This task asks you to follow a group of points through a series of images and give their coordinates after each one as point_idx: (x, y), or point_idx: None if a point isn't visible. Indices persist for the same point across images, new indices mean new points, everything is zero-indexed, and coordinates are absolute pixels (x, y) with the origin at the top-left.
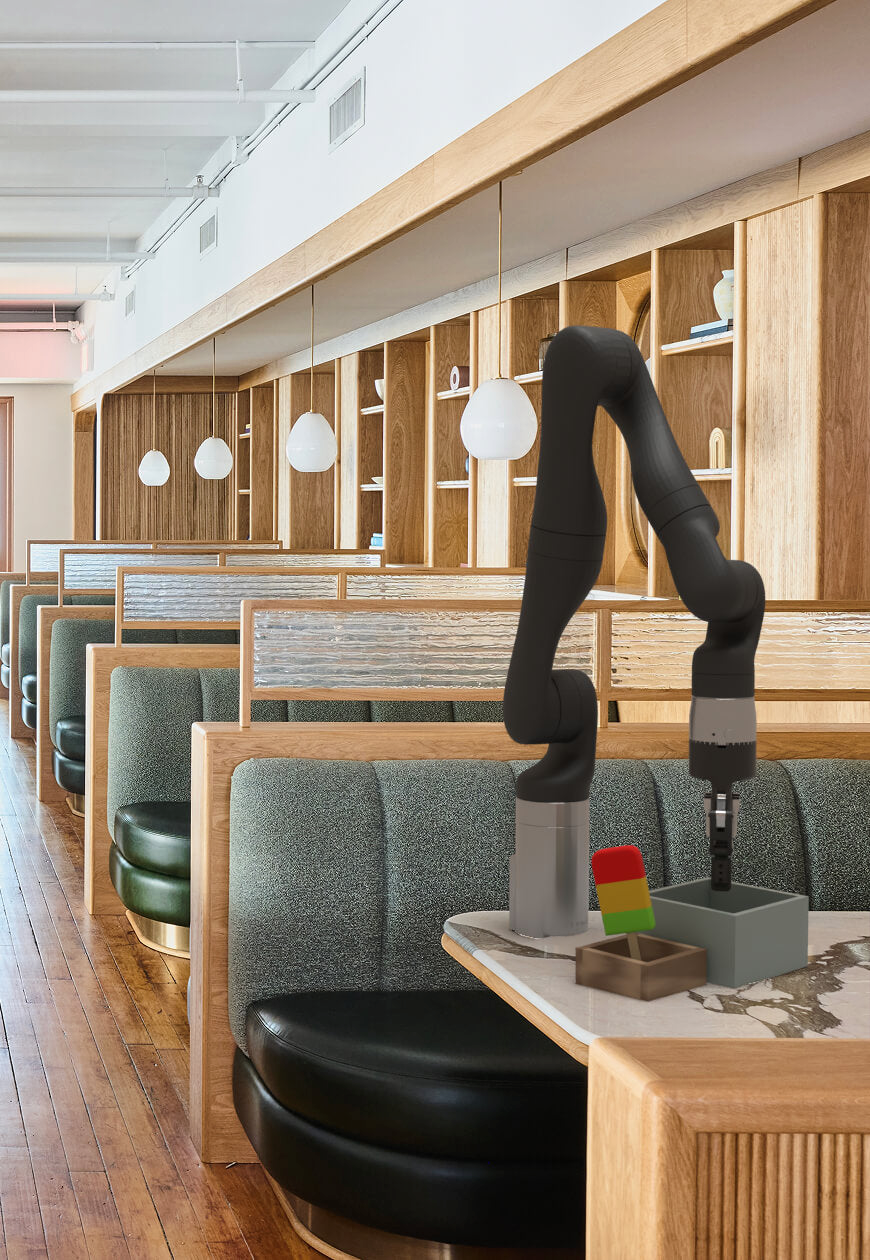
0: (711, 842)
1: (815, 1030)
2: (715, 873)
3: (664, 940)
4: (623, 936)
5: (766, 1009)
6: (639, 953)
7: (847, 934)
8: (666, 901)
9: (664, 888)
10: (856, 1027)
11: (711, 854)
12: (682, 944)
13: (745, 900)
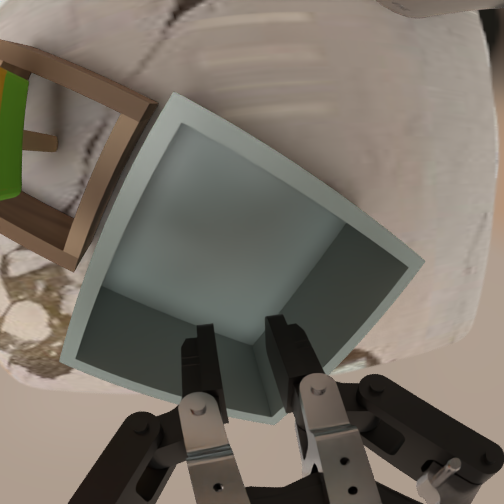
0: (102, 457)
1: (12, 359)
2: (182, 368)
3: (100, 184)
4: (103, 89)
5: (38, 321)
6: (30, 150)
7: (401, 351)
8: (112, 207)
9: (290, 173)
10: (42, 387)
11: (131, 418)
12: (85, 225)
13: (335, 323)
